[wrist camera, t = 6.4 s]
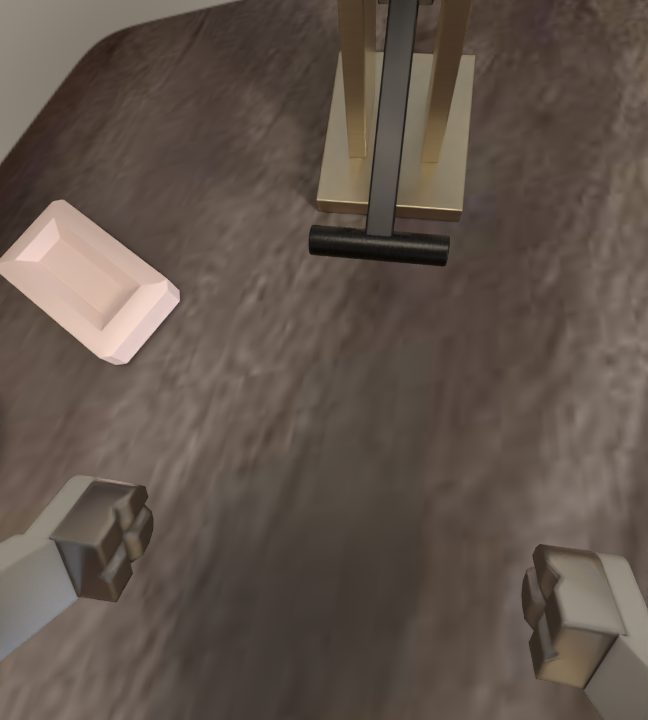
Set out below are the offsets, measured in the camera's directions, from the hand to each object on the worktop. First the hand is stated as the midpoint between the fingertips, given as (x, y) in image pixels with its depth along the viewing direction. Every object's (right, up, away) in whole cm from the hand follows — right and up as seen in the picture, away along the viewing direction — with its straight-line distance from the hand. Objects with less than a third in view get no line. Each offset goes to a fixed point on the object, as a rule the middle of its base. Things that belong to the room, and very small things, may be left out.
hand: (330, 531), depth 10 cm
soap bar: (-13, +8, +19) cm, 24 cm away
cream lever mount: (+4, +17, +19) cm, 25 cm away
